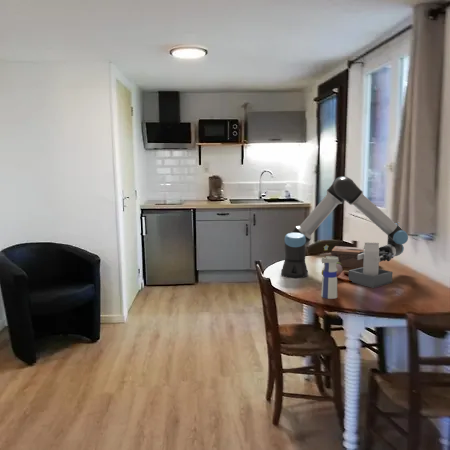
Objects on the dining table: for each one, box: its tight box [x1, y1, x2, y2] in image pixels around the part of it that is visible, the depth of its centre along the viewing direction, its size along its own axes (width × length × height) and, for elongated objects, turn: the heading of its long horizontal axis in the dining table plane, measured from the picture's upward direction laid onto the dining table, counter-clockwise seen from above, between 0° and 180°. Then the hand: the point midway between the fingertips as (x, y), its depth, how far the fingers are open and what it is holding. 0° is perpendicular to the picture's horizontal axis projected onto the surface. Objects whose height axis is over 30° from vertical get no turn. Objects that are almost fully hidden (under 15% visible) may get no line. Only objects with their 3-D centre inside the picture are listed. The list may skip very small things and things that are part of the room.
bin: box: [347, 267, 394, 289], centre depth 246 cm, size 16×16×6 cm
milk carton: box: [363, 242, 380, 276], centre depth 245 cm, size 7×7×19 cm
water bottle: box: [320, 244, 339, 300], centre depth 220 cm, size 8×9×25 cm
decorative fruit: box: [336, 262, 343, 278], centre depth 254 cm, size 9×8×10 cm
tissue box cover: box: [330, 245, 364, 269], centre depth 284 cm, size 26×14×10 cm, turn 67°
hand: (367, 258), depth 241 cm, fingers closed on milk carton, 10 cm apart
